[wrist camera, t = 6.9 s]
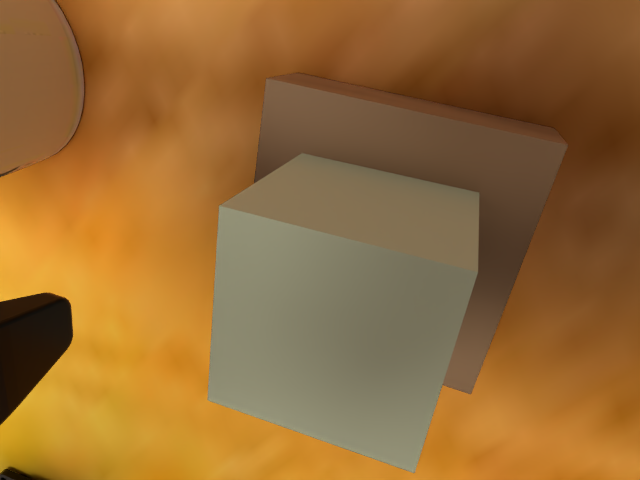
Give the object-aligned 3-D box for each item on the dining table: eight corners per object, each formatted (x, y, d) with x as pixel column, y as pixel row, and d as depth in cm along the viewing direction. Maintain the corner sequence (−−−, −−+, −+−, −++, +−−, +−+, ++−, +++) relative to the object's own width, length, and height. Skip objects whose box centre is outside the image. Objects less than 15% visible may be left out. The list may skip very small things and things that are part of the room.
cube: (434, 345, 15) (414, 472, 11) (283, 301, 16) (207, 400, 12) (479, 192, 13) (477, 272, 8) (302, 153, 14) (218, 205, 10)
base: (472, 341, 18) (470, 394, 15) (272, 278, 20) (238, 316, 17) (552, 126, 15) (568, 145, 12) (301, 71, 16) (266, 78, 14)
